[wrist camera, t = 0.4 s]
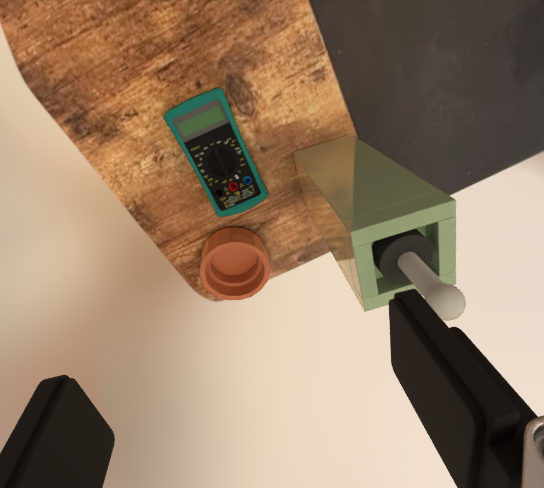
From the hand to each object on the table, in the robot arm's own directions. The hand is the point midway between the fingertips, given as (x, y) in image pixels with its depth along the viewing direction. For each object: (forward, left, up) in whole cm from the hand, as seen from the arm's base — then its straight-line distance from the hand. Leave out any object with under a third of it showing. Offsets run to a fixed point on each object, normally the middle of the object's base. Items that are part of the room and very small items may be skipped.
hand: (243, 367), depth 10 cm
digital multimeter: (+3, -2, -37) cm, 38 cm away
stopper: (+9, +11, -16) cm, 22 cm away
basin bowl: (+17, -5, -37) cm, 41 cm away
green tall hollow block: (+9, +11, -37) cm, 40 cm away
